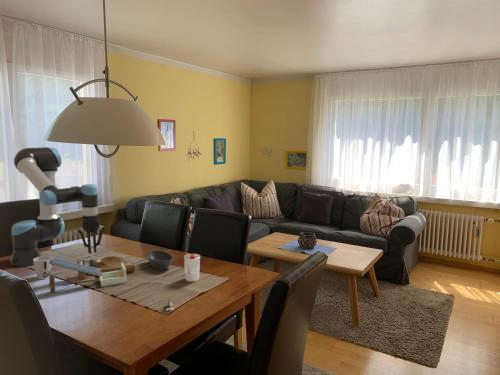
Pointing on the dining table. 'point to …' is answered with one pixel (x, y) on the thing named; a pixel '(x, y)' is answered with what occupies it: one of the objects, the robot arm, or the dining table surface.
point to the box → (113, 277)
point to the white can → (192, 267)
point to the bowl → (159, 259)
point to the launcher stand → (72, 279)
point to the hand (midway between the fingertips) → (92, 258)
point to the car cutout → (169, 305)
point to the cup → (42, 266)
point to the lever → (77, 265)
